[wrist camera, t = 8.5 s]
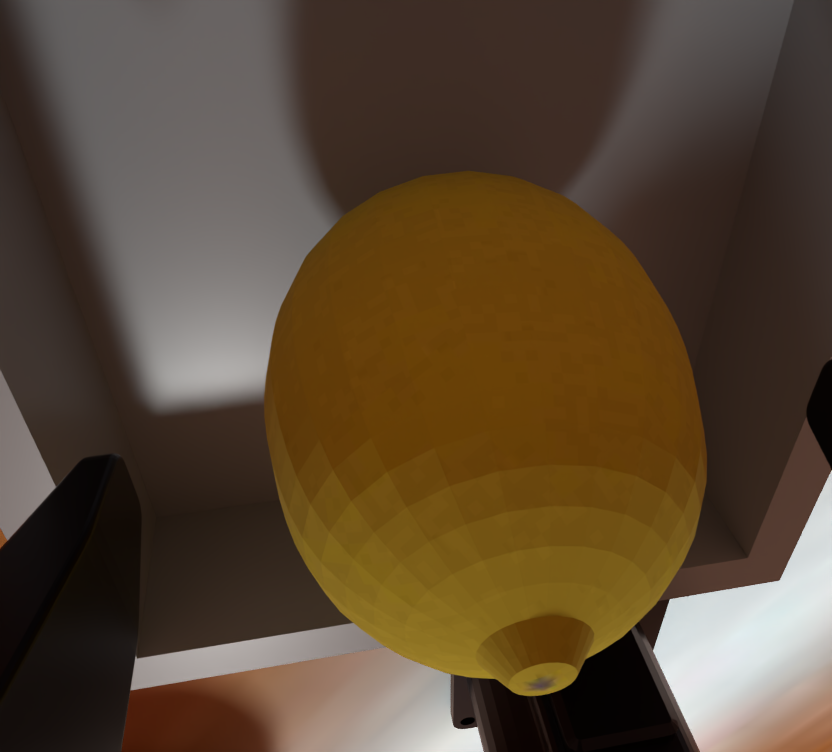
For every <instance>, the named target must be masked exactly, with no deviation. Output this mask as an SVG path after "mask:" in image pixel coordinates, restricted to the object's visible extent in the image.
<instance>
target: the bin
mask: <svg viewBox="0 0 832 752" xmlns="http://www.w3.org/2000/svg"><path fill="white" fill-rule="evenodd" d="M462 171H475V172H483V173H491V174H499V175H507V176H513V177H517V178H520V179H523V180H525V181H528V182H530V183H533V184H535V185H538V186H540V187H543V188H545V189H548V190H550V191H553V192H556V193H558V194H561V195H563V196H565V197H566V198H568V199H570V200H571V201H573V202H574V203H576V204H577V205H578V206H580V207H581V208H582V209H584V210H585V211H586V212H587V213H589V214H590V215H591V216H592V217H594V218H595V219H596V220H597V221H599V222H600V223H601V224H602V225H604V226H605V227H606V228H607V229H609V230H610V231H611V232H612V233H613V234H614V235H615V236H617V237H618V238H619V239H620V240H621V241H622V242H623V243H624V244H625V245H626V246H627V248H628V249H629V250H630V251H631V252H632V253H633V254H634V256H635V257H636V259H637V260H638V262H639V263H640V265H641V266H642V268H643V269H644V271H645V272H646V274H647V275H648V277H649V278H650V280H651V282H652V283H653V285H654V286H655V288H656V290H657V291H658V293H659V294H660V296H661V298H662V299H663V301H664V302H665V304H666V306H667V307H668V309H669V311H670V313H671V315H672V317H673V319H674V321H675V323H676V325H677V327H678V329H679V332H680V334H681V337H682V340H683V342H684V345H685V347H686V351H687V354H688V358H689V361H690V364H691V368H692V372H693V376H694V381H695V386H696V391H697V395H698V401H699V406H700V412H701V417H702V422H703V428H704V435H705V443H706V451H707V482H706V487H705V492H704V497H703V502H702V507H701V511H700V516H699V520H698V525H697V529H696V534H695V538H694V540H693V542H692V544H691V547H690V549H689V551H688V553H687V556H686V558H685V560H684V562H683V564H682V565H681V567H680V568H679V570H678V571H677V573H676V575H675V576H674V578H673V579H672V581H671V583H670V584H669V586H668V587H667V589H666V590H665V592H664V593H663V594H662V596H661V597H660V599H659V600H658V601H661V600H667V599H673V598H679V597H684V596H690V595H696V594H702V593H708V592H714V591H720V590H726V589H732V588H738V587H743V586H749V585H755V584H761V583H767V582H773V581H779V580H780V578H781V576H782V574H783V572H784V570H785V568H786V565H787V563H788V561H789V559H790V557H791V555H792V553H793V551H794V548H795V546H796V544H797V542H798V540H799V538H800V536H801V534H802V531H803V529H804V527H805V525H806V523H807V521H808V519H809V517H810V514H811V512H812V510H813V508H814V506H815V504H816V502H817V499H818V497H819V495H820V493H821V491H822V489H823V487H824V485H825V482H826V480H827V478H828V476H829V474H830V472H831V468H830V466H829V464H828V462H827V460H826V458H825V456H824V454H823V452H822V450H821V448H820V446H819V444H818V442H817V440H816V438H815V436H814V434H813V432H812V430H811V428H810V426H809V424H808V421H807V417H806V408H807V404H808V401H809V399H810V396H811V394H812V391H813V389H814V386H815V384H816V381H817V379H818V376H819V374H820V372H821V369H822V367H823V365H824V364H825V363H826V362H827V361H829V360H831V359H832V0H0V528H1V530H2V532H3V533H4V535H5V537H6V539H7V540H8V539H9V538H10V537H11V536H12V535H13V534H14V533H15V532H16V531H17V530H18V528H19V527H20V526H21V525H22V524H23V523H24V522H25V521H26V520H27V518H28V517H29V516H30V515H31V514H32V513H33V512H34V511H35V510H36V508H37V507H38V506H39V505H40V504H41V503H42V502H43V501H44V500H45V499H46V497H47V496H48V495H49V494H50V493H51V492H52V491H53V490H54V489H55V487H56V486H57V485H58V484H59V483H60V482H61V481H62V480H63V479H64V477H65V476H66V475H67V474H68V473H69V472H70V471H71V470H72V469H73V468H74V466H75V465H76V464H77V463H78V462H79V461H80V460H82V459H83V458H85V457H88V456H96V455H103V454H111V453H116V454H119V455H121V457H122V458H123V459H124V461H125V463H126V466H127V469H128V471H129V474H130V476H131V479H132V482H133V484H134V487H135V490H136V492H137V495H138V498H139V501H140V505H141V512H142V533H141V568H140V604H139V630H138V641H137V649H136V657H135V664H134V670H133V677H132V683H131V690H136V689H142V688H148V687H154V686H160V685H166V684H172V683H177V682H183V681H189V680H195V679H201V678H207V677H213V676H219V675H225V674H231V673H236V672H242V671H248V670H254V669H260V668H266V667H272V666H278V665H284V664H289V663H295V662H301V661H307V660H313V659H319V658H325V657H331V656H337V655H343V654H348V653H354V652H360V651H366V650H372V649H378V648H384V647H385V646H383V645H382V644H380V643H379V642H378V641H376V640H375V639H374V638H372V637H371V636H370V635H368V634H367V633H366V632H364V631H363V630H361V629H360V628H359V627H358V626H357V625H355V624H354V623H353V622H352V621H351V620H349V619H348V618H347V617H346V616H344V615H343V614H342V613H341V612H340V611H339V610H338V609H337V607H336V606H335V605H334V604H333V602H332V601H331V600H330V599H329V597H328V596H327V595H326V594H325V592H324V591H323V590H322V588H321V587H320V585H319V584H318V582H317V581H316V579H315V578H314V576H313V575H312V573H311V572H310V570H309V569H308V567H307V566H306V564H305V562H304V560H303V558H302V556H301V555H300V553H299V551H298V549H297V547H296V545H295V543H294V541H293V538H292V535H291V533H290V530H289V528H288V525H287V523H286V520H285V516H284V513H283V509H282V506H281V503H280V499H279V495H278V490H277V486H276V481H275V476H274V471H273V466H272V461H271V456H270V451H269V446H268V441H267V434H266V426H265V418H264V392H265V381H266V373H267V367H268V361H269V354H270V348H271V342H272V336H273V331H274V326H275V322H276V319H277V316H278V313H279V310H280V307H281V305H282V303H283V301H284V299H285V297H286V295H287V293H288V291H289V289H290V287H291V285H292V283H293V281H294V279H295V277H296V275H297V273H298V271H299V269H300V267H301V265H302V263H303V261H304V259H305V257H306V255H307V254H308V253H309V252H310V251H311V250H312V249H313V248H314V246H315V245H316V244H317V243H318V242H319V241H320V240H321V239H322V238H323V237H324V236H325V235H326V233H327V232H328V231H329V230H330V229H331V228H332V227H333V226H334V225H335V224H336V223H337V222H338V221H339V219H340V218H341V217H342V216H343V215H345V214H346V213H348V212H349V211H351V210H353V209H354V208H356V207H357V206H359V205H360V204H362V203H363V202H365V201H366V200H368V199H369V198H371V197H373V196H374V195H376V194H377V193H379V192H381V191H383V190H386V189H389V188H391V187H394V186H397V185H400V184H402V183H405V182H408V181H411V180H413V179H416V178H419V177H422V176H427V175H436V174H444V173H453V172H462Z"/></svg>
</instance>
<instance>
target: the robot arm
mask: <svg viewBox="0 0 832 752" xmlns="http://www.w3.org/2000/svg"><path fill="white" fill-rule="evenodd" d="M806 417H807V421H808V424H809V426H810V428H811V430H812V432H813V434H814V436H815V438H816V440H817V442H818V444H819V446H820V448H821V450H822V452H823V454H824V456H825V458H826V460H827V462H828V464H829V466H830V468H831V470H832V359H831V360H829V361H827V362H826V363H825V364H824V365H823V367H822V369H821V372H820V374H819V376H818V379H817V381H816V384H815V386H814V389H813V391H812V394H811V396H810V399H809V401H808V404H807V408H806ZM141 533H142V512H141V505H140V501H139V498H138V495H137V492H136V490H135V487H134V484H133V482H132V479H131V476H130V474H129V471H128V469H127V466H126V463H125V461H124V459H123V458H122V457H121V455H119V454H116V453H111V454H103V455H96V456H88V457H85V458H83V459H82V460H80V461H79V462H78V463H77V464H76V465H75V466H74V468H73V469H72V470H71V471H70V472H69V473H68V474H67V475H66V476H65V477H64V479H63V480H62V481H61V482H60V483H59V484H58V485H57V486H56V487H55V489H54V490H53V491H52V492H51V493H50V494H49V495H48V496H47V497H46V499H45V500H44V501H43V502H42V503H41V504H40V505H39V506H38V507H37V508H36V510H35V511H34V512H33V513H32V514H31V515H30V516H29V517H28V518H27V520H26V521H25V522H24V523H23V524H22V525H21V526H20V527H19V528H18V530H17V531H16V532H15V533H14V534H13V535H12V536H11V537H10V538H9V539H8V541H7V542H6V543H5V544H4V545H3V546H2V547H1V548H0V752H121V749H122V742H123V736H124V729H125V723H126V716H127V710H128V703H129V696H130V690H131V683H132V677H133V670H134V664H135V657H136V649H137V641H138V630H139V604H140V568H141ZM669 600H670V599H667V600H661V601H658V602H657V603H656V605H655V606H654V607H653V608H652V609H651V610H650V611H649V612H648V613H647V614H646V615H645V616H644V617H643V618H642V619H641V620H640V621H639V622H638V623H637V624H635V625H634V626H633V627H632V628H631V629H630V630H629V631H628V632H627V633H626V634H625V635H624V636H623V637H622V638H620V639H619V640H617V641H616V642H614V643H613V644H611V645H609V646H608V647H606V648H605V649H603V650H602V651H600V652H598V653H596V654H594V655H593V656H591V657H589V658H587V659H585V661H584V663H583V665H582V667H581V669H580V672H579V674H578V676H577V677H576V679H575V680H574V681H573V682H572V683H571V684H570V685H568V686H567V687H565V688H563V689H561V690H559V691H556V692H553V693H550V694H545V695H538V696H524V695H518V694H516V693H514V692H512V691H511V690H510V689H508V688H507V687H506V686H504V685H503V684H502V683H501V682H499V681H498V680H497V679H488V678H471V677H465V676H460V675H454V674H451V717H452V721H453V725H454V727H456V728H458V729H468V728H473V727H478V730H479V735H480V739H481V743H482V747H483V751H484V752H700V751H699V748H698V746H697V744H696V742H695V740H694V738H693V736H692V734H691V731H690V729H689V727H688V725H687V723H686V721H685V719H684V716H683V714H682V712H681V710H680V708H679V706H678V704H677V701H676V699H675V697H674V695H673V693H672V691H671V689H670V686H669V684H668V682H667V680H666V678H665V676H664V674H663V672H662V669H661V667H660V665H659V663H658V661H657V659H656V657H655V654H654V652H653V649H654V646H655V643H656V640H657V637H658V633H659V630H660V627H661V624H662V621H663V618H664V615H665V612H666V609H667V606H668V603H669Z"/></svg>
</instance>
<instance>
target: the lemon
mask: <svg viewBox="0 0 832 752" xmlns="http://www.w3.org/2000/svg"><path fill="white" fill-rule="evenodd" d="M264 418H265V426H266V434H267V441H268V446H269V451H270V456H271V461H272V466H273V471H274V476H275V481H276V486H277V490H278V495H279V499H280V503H281V506H282V509H283V513H284V516H285V520H286V523H287V525H288V528H289V530H290V533H291V535H292V538H293V541H294V543H295V545H296V547H297V549H298V551H299V553H300V555H301V556H302V558H303V560H304V562H305V564H306V566H307V567H308V569H309V570H310V572H311V573H312V575H313V576H314V578H315V579H316V581H317V582H318V584H319V585H320V587H321V588H322V590H323V591H324V592H325V594H326V595H327V596H328V597H329V599H330V600H331V601H332V602H333V604H334V605H335V606H336V607H337V609H338V610H339V611H340V612H341V613H342V614H343V615H344V616H346V617H347V618H348V619H349V620H351V621H352V622H353V623H354V624H355V625H357V626H358V627H359V628H360V629H361V630H363V631H364V632H366V633H367V634H368V635H370V636H371V637H372V638H374V639H375V640H376V641H378V642H379V643H380V644H382V645H383V646H385V647H387V648H389V649H390V650H392V651H394V652H396V653H398V654H399V655H401V656H403V657H405V658H408V659H410V660H413V661H415V662H418V663H420V664H423V665H425V666H428V667H431V668H434V669H436V670H439V671H442V672H445V673H449V674H454V675H460V676H465V677H471V678H488V679H497V680H498V681H499V682H501V683H502V684H503V685H504V686H506V687H507V688H508V689H510V690H511V691H512V692H514V693H516V694H518V695H524V696H538V695H545V694H550V693H553V692H556V691H559V690H561V689H563V688H565V687H567V686H568V685H570V684H571V683H572V682H573V681H574V680H575V679H576V677H577V676H578V674H579V672H580V669H581V667H582V665H583V663H584V661H585V659H587V658H589V657H591V656H593V655H594V654H596V653H598V652H600V651H602V650H603V649H605V648H606V647H608V646H609V645H611V644H613V643H614V642H616V641H617V640H619V639H620V638H622V637H623V636H624V635H625V634H626V633H627V632H628V631H629V630H630V629H631V628H632V627H633V626H634V625H635V624H637V623H638V622H639V621H640V620H641V619H642V618H643V617H644V616H645V615H646V614H647V613H648V612H649V611H650V610H651V609H652V608H653V607H654V606H655V605H656V603H657V602H658V600H659V599H660V597H661V596H662V594H663V593H664V592H665V590H666V589H667V587H668V586H669V584H670V583H671V581H672V579H673V578H674V576H675V575H676V573H677V571H678V570H679V568H680V567H681V565H682V564H683V562H684V560H685V558H686V556H687V553H688V551H689V549H690V547H691V544H692V542H693V540H694V538H695V534H696V529H697V525H698V520H699V516H700V511H701V507H702V502H703V497H704V492H705V487H706V482H707V451H706V443H705V435H704V428H703V422H702V417H701V412H700V406H699V401H698V395H697V391H696V386H695V381H694V376H693V372H692V368H691V364H690V361H689V358H688V354H687V351H686V347H685V345H684V342H683V340H682V337H681V334H680V332H679V329H678V327H677V325H676V323H675V321H674V319H673V317H672V315H671V313H670V311H669V309H668V307H667V306H666V304H665V302H664V301H663V299H662V298H661V296H660V294H659V293H658V291H657V290H656V288H655V286H654V285H653V283H652V282H651V280H650V278H649V277H648V275H647V274H646V272H645V271H644V269H643V268H642V266H641V265H640V263H639V262H638V260H637V259H636V257H635V256H634V254H633V253H632V252H631V251H630V250H629V249H628V248H627V246H626V245H625V244H624V243H623V242H622V241H621V240H620V239H619V238H618V237H617V236H615V235H614V234H613V233H612V232H611V231H610V230H609V229H607V228H606V227H605V226H604V225H602V224H601V223H600V222H599V221H597V220H596V219H595V218H594V217H592V216H591V215H590V214H589V213H587V212H586V211H585V210H584V209H582V208H581V207H580V206H578V205H577V204H576V203H574V202H573V201H571V200H570V199H568V198H566V197H565V196H563V195H561V194H558V193H556V192H553V191H550V190H548V189H545V188H543V187H540V186H538V185H535V184H533V183H530V182H528V181H525V180H523V179H520V178H517V177H513V176H507V175H499V174H491V173H483V172H475V171H462V172H453V173H444V174H436V175H427V176H422V177H419V178H416V179H413V180H411V181H408V182H405V183H402V184H400V185H397V186H394V187H391V188H389V189H386V190H383V191H381V192H379V193H377V194H376V195H374V196H373V197H371V198H369V199H368V200H366V201H365V202H363V203H362V204H360V205H359V206H357V207H356V208H354V209H353V210H351V211H349V212H348V213H346V214H345V215H343V216H342V217H341V218H340V219H339V221H338V222H337V223H336V224H335V225H334V226H333V227H332V228H331V229H330V230H329V231H328V232H327V233H326V235H325V236H324V237H323V238H322V239H321V240H320V241H319V242H318V243H317V244H316V245H315V246H314V248H313V249H312V250H311V251H310V252H309V253H308V254H307V255H306V257H305V259H304V261H303V263H302V265H301V267H300V269H299V271H298V273H297V275H296V277H295V279H294V281H293V283H292V285H291V287H290V289H289V291H288V293H287V295H286V297H285V299H284V301H283V303H282V305H281V307H280V310H279V313H278V316H277V319H276V322H275V326H274V331H273V336H272V342H271V348H270V354H269V361H268V367H267V373H266V381H265V392H264Z"/></svg>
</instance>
